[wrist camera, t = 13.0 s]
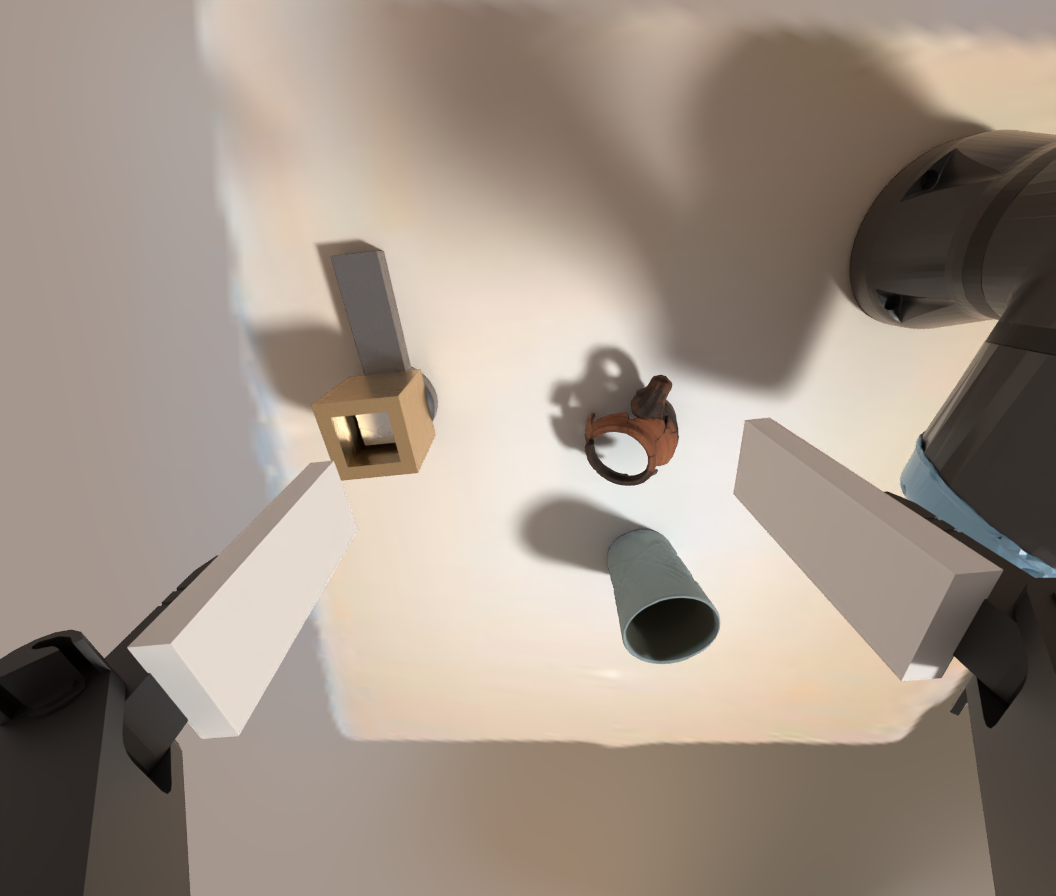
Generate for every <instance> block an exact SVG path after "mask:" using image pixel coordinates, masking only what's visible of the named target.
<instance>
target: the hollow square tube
mask: <svg viewBox="0 0 1056 896" xmlns="http://www.w3.org/2000/svg"><path fill="white" fill-rule="evenodd" d="M311 407H312V410H313V412H314V415H315V418H316V420H317V423H318V426H319V429H320V431H321V434H322V437H323V440H324V442H325V445H326V448H327V451H328V453H329V456H330V459H331V461H334V463H335V466H336V468H337V471H338V474H339V477H340V479H341V480H351V479H361V478H371V477H381V476H391V475H402V474H412V473H418V472H419V470H420V468H421V465H422V463H423V461H424V459H425V457H426V454H427V452H428V450H429V448H430V446H431V444H432V441H433V439H434V437H435V430H434V426H433V421H432V417H431V413H430V408H429V404H428V399H427V395H426V390H425V386H424V381H423V377H422V373H421V369H419V370H409V371H400V372H391V373H381V374H372V375H362V376H353V377H349V378H347V379H346V380H345V381H343V382H342V383H341V384H339V385H338V386H336V387H335V388H334V389H332V390H331V391H330V392H328V393H327V394H325V395H324V396H323V397H321V398H320V399H319V400H317V401H316V402H315V403H313V404H312V405H311ZM380 412H387V413H388V417H389V420H390V424H391V428H392V431H393V435H394V438H395V442H396V443H386V444H376V445H365V444H364V441H363V437H362V434H361V431H360V428H359V425H358V421H357V418H356V415H361V414H370V413H380Z"/></svg>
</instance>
